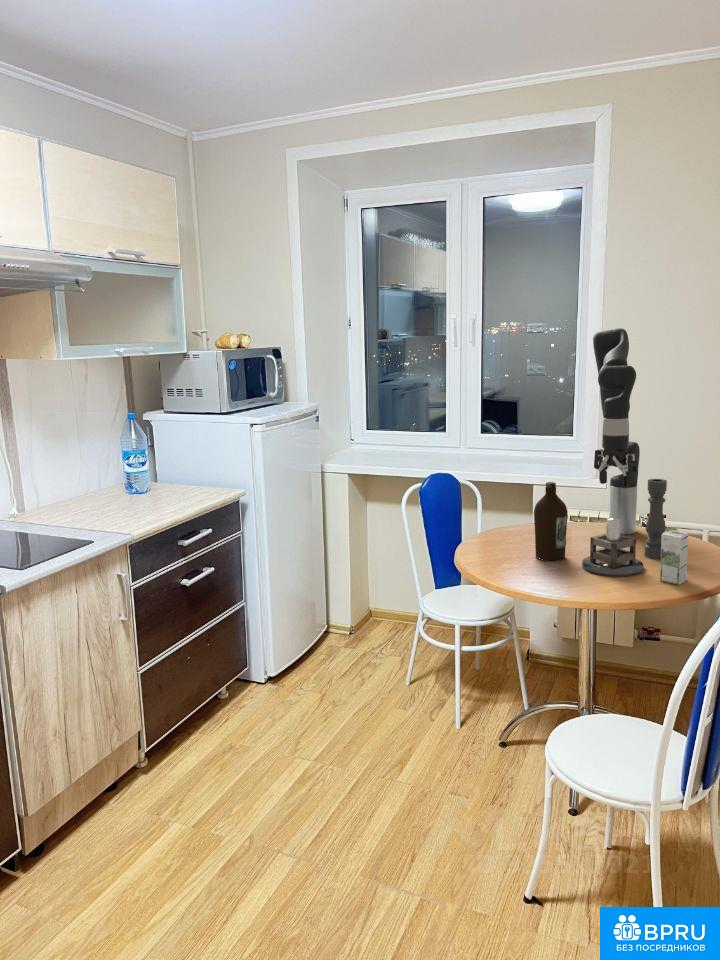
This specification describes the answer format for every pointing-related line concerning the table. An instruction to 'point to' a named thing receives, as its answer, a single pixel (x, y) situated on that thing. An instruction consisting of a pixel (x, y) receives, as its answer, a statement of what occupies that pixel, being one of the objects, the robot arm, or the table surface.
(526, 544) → the table surface
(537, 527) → the olive oil
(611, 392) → the robot arm
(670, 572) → the syrup box
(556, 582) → the table surface
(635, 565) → the collar stand
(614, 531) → the silver metal bottle
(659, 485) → the candle holder
